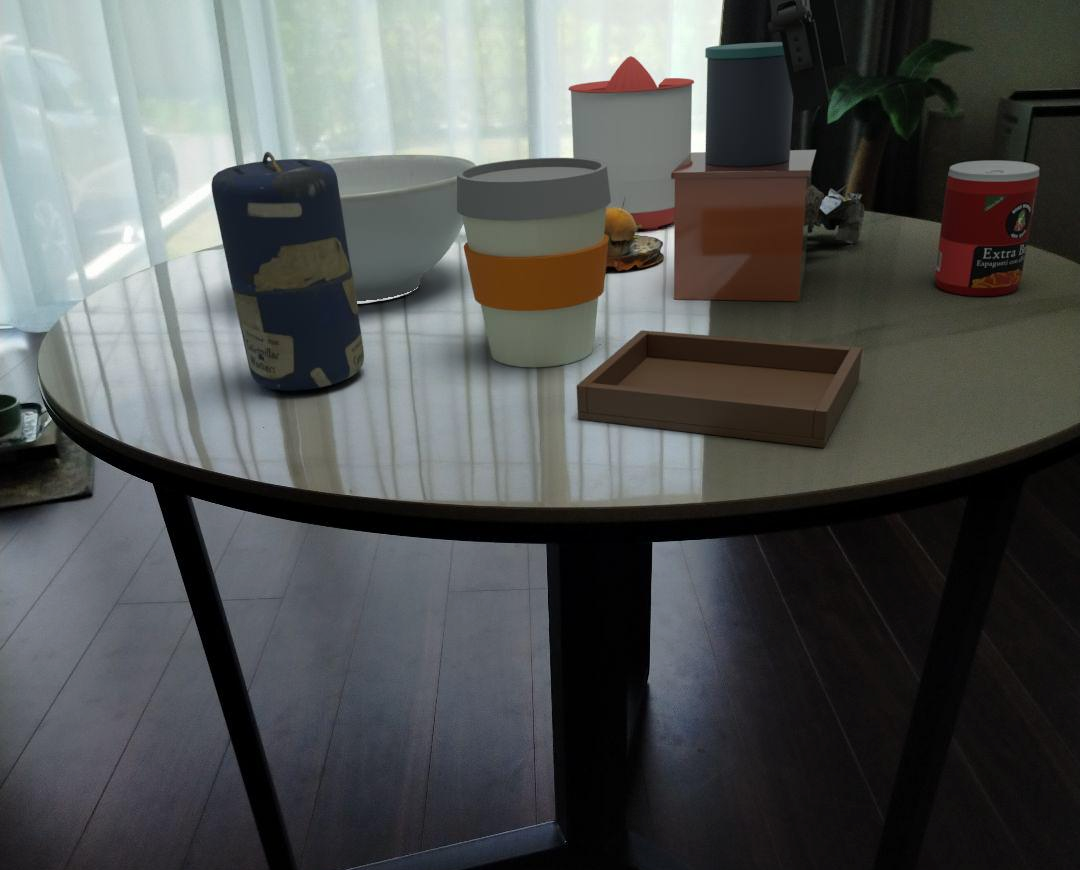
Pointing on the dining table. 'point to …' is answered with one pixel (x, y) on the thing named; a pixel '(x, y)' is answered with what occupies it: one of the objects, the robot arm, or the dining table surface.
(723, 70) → the grey container
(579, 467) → the dining table surface
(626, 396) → the tray
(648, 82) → the citrus juicer
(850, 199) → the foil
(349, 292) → the canister
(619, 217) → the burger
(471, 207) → the reusable coffee cup
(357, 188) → the decorative bowl
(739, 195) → the brown lidded box
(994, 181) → the canned food
